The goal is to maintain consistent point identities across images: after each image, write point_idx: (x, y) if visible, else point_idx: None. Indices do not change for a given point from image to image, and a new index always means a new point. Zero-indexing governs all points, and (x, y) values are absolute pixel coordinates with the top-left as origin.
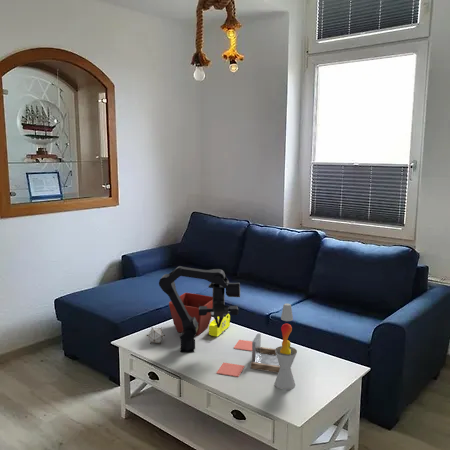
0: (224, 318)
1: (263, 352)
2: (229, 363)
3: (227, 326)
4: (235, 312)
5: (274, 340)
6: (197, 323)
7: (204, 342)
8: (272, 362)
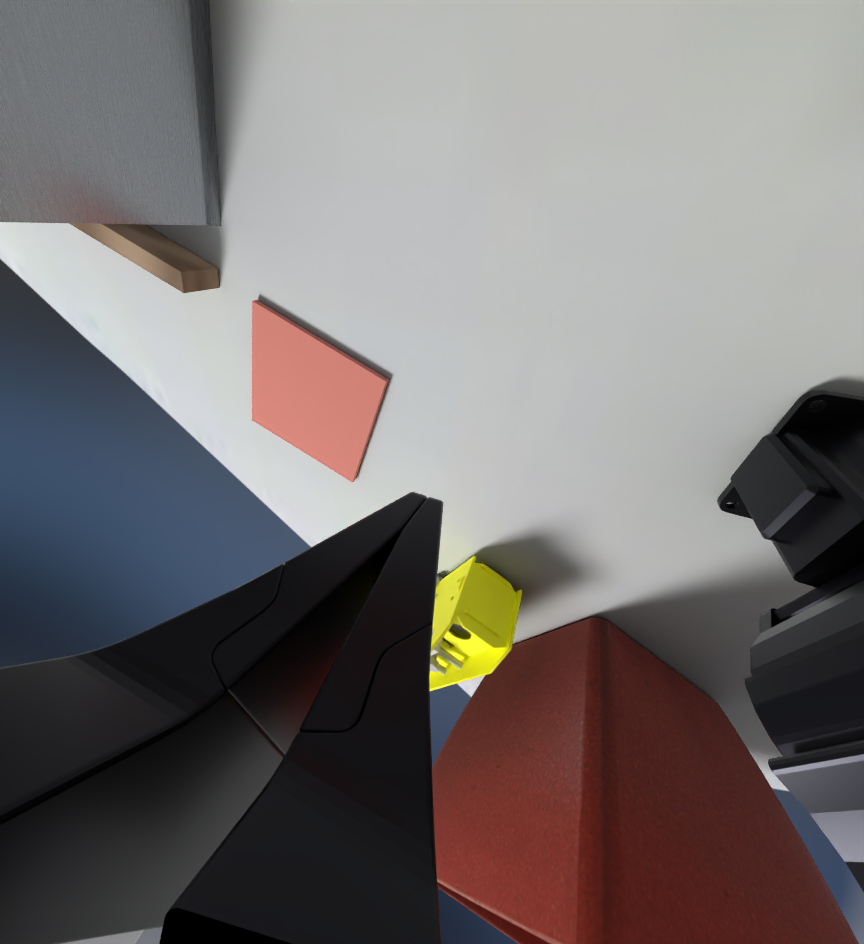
0: None
1: (184, 252)
2: None
3: None
4: None
5: (194, 424)
6: (839, 782)
7: (584, 530)
8: None
